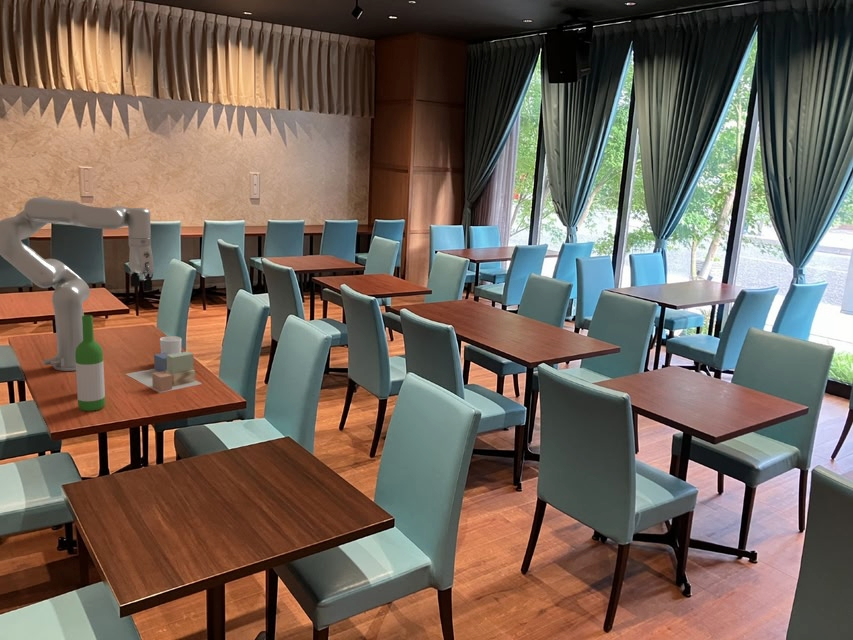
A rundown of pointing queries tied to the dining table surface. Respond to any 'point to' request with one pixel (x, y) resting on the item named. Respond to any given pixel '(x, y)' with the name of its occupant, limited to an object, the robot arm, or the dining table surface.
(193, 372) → the beech block
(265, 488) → the dining table surface
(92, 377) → the wine bottle
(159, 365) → the slate blue block
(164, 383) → the terracotta block
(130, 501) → the dining table surface
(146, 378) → the felt placemat
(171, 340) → the white cup
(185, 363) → the sage block
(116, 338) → the dining table surface
